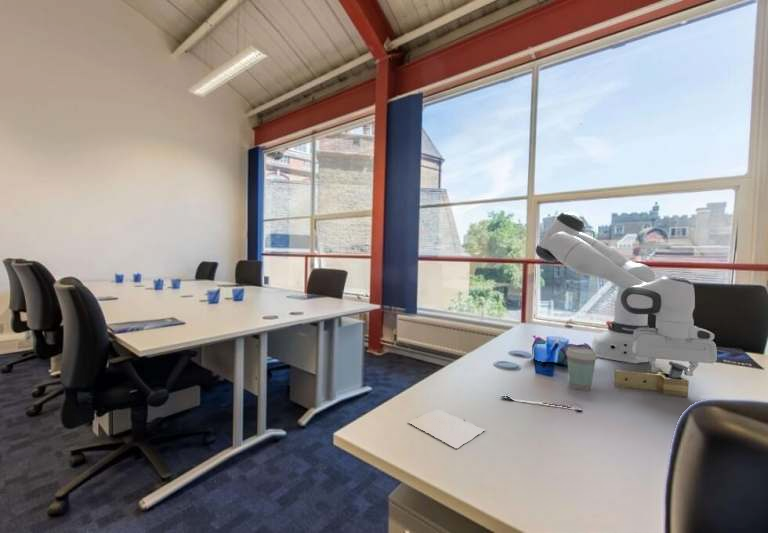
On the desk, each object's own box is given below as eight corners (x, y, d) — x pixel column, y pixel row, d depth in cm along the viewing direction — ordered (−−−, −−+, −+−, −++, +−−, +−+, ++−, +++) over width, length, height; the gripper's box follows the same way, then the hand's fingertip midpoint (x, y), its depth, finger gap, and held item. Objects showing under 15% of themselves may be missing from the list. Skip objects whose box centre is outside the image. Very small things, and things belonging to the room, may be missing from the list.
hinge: (687, 397, 101) (688, 380, 101) (617, 388, 107) (618, 373, 107) (660, 376, 118) (661, 362, 118) (601, 369, 124) (601, 356, 124)
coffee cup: (593, 384, 110) (594, 348, 110) (597, 394, 102) (599, 355, 102) (563, 380, 114) (565, 344, 113) (565, 389, 106) (567, 351, 105)
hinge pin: (664, 385, 104) (671, 363, 103) (660, 381, 108) (667, 360, 107) (682, 391, 102) (690, 369, 101) (677, 387, 106) (684, 365, 105)
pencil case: (592, 366, 128) (593, 341, 128) (592, 373, 121) (593, 346, 121) (533, 356, 140) (534, 333, 139) (529, 362, 132) (530, 338, 132)
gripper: (637, 328, 104) (635, 372, 105) (721, 334, 98) (718, 381, 98) (630, 324, 110) (628, 366, 111) (708, 329, 104) (706, 374, 104)
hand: (671, 373), depth 105 cm, fingers open, 7 cm apart
